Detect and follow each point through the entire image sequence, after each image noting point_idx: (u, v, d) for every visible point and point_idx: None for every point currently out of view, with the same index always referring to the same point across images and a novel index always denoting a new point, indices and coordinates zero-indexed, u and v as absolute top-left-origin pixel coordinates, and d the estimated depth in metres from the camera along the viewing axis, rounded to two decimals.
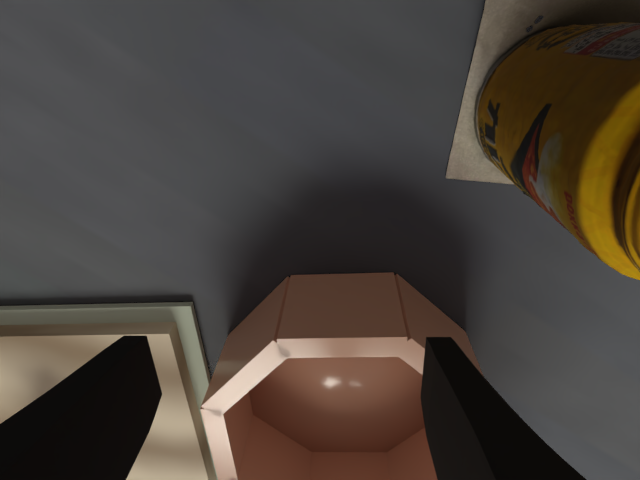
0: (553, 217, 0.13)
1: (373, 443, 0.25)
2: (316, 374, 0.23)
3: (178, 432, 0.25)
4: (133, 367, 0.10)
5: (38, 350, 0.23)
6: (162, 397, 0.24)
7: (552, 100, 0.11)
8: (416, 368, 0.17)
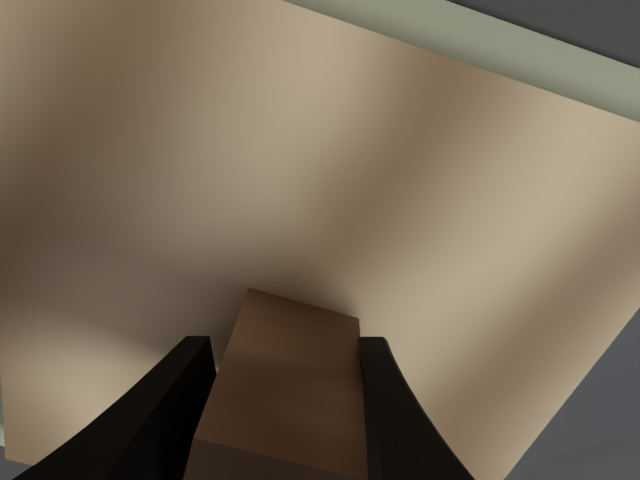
0: None
1: None
2: None
3: (345, 83, 0.09)
4: (200, 368, 0.10)
5: (30, 258, 0.11)
6: (206, 55, 0.08)
7: None
8: None
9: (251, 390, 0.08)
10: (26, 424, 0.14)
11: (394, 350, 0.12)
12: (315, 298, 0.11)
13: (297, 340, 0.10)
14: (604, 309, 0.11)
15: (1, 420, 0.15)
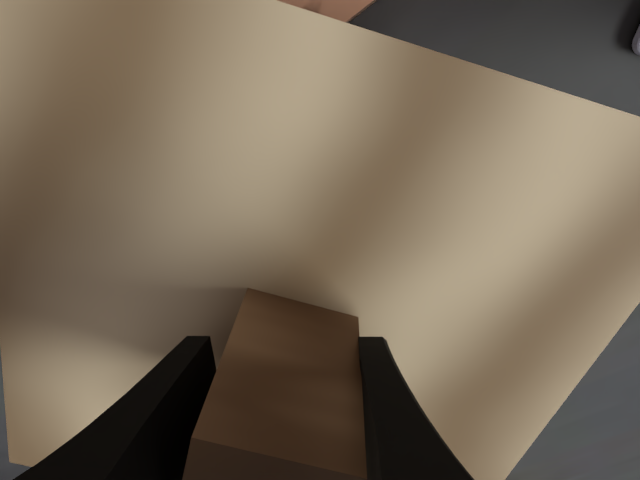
0: None
1: None
2: None
3: (339, 81, 0.09)
4: (201, 368, 0.10)
5: (30, 261, 0.11)
6: (200, 56, 0.08)
7: None
8: None
9: (250, 389, 0.08)
10: (29, 427, 0.14)
11: (394, 348, 0.12)
12: (314, 297, 0.11)
13: (296, 339, 0.10)
14: (604, 304, 0.11)
15: None
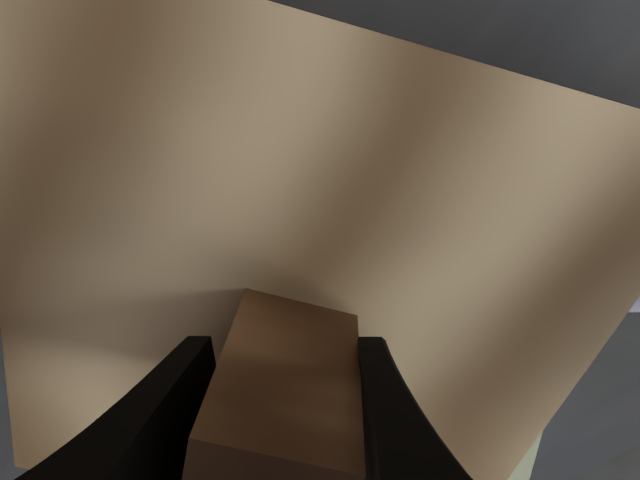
0: None
1: None
2: None
3: (331, 79, 0.09)
4: (202, 368, 0.10)
5: (30, 266, 0.11)
6: (191, 57, 0.09)
7: None
8: None
9: (248, 389, 0.08)
10: (33, 431, 0.14)
11: (394, 346, 0.11)
12: (313, 297, 0.11)
13: (294, 339, 0.10)
14: (605, 297, 0.10)
15: None
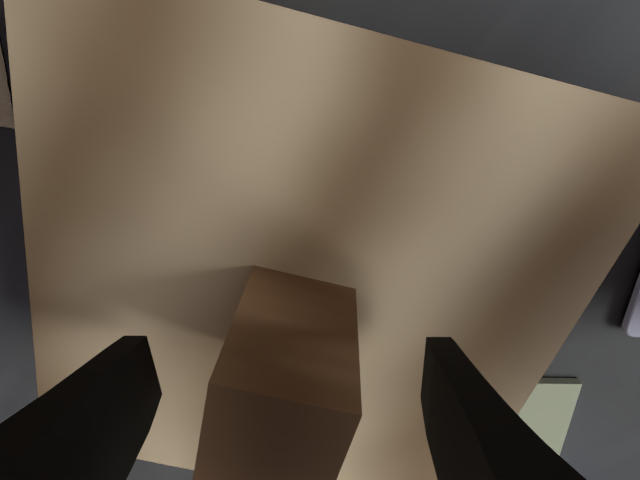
0: None
1: None
2: None
3: (327, 72, 0.10)
4: (133, 367, 0.10)
5: (57, 248, 0.12)
6: (203, 55, 0.10)
7: None
8: None
9: (257, 346, 0.09)
10: None
11: (390, 317, 0.13)
12: (315, 272, 0.12)
13: (298, 307, 0.11)
14: (581, 267, 0.11)
15: None
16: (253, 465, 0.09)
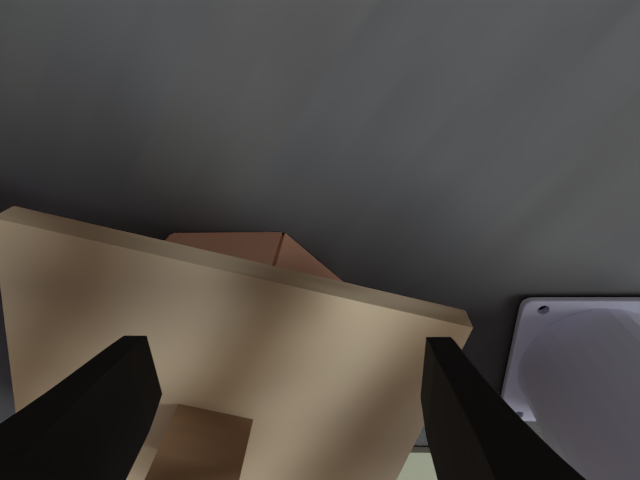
0: None
1: None
2: None
3: (215, 295, 0.14)
4: (133, 367, 0.10)
5: (36, 391, 0.17)
6: (131, 284, 0.14)
7: None
8: None
9: None
10: None
11: (281, 437, 0.17)
12: (222, 408, 0.17)
13: (203, 444, 0.15)
14: (410, 409, 0.16)
15: None
16: None
